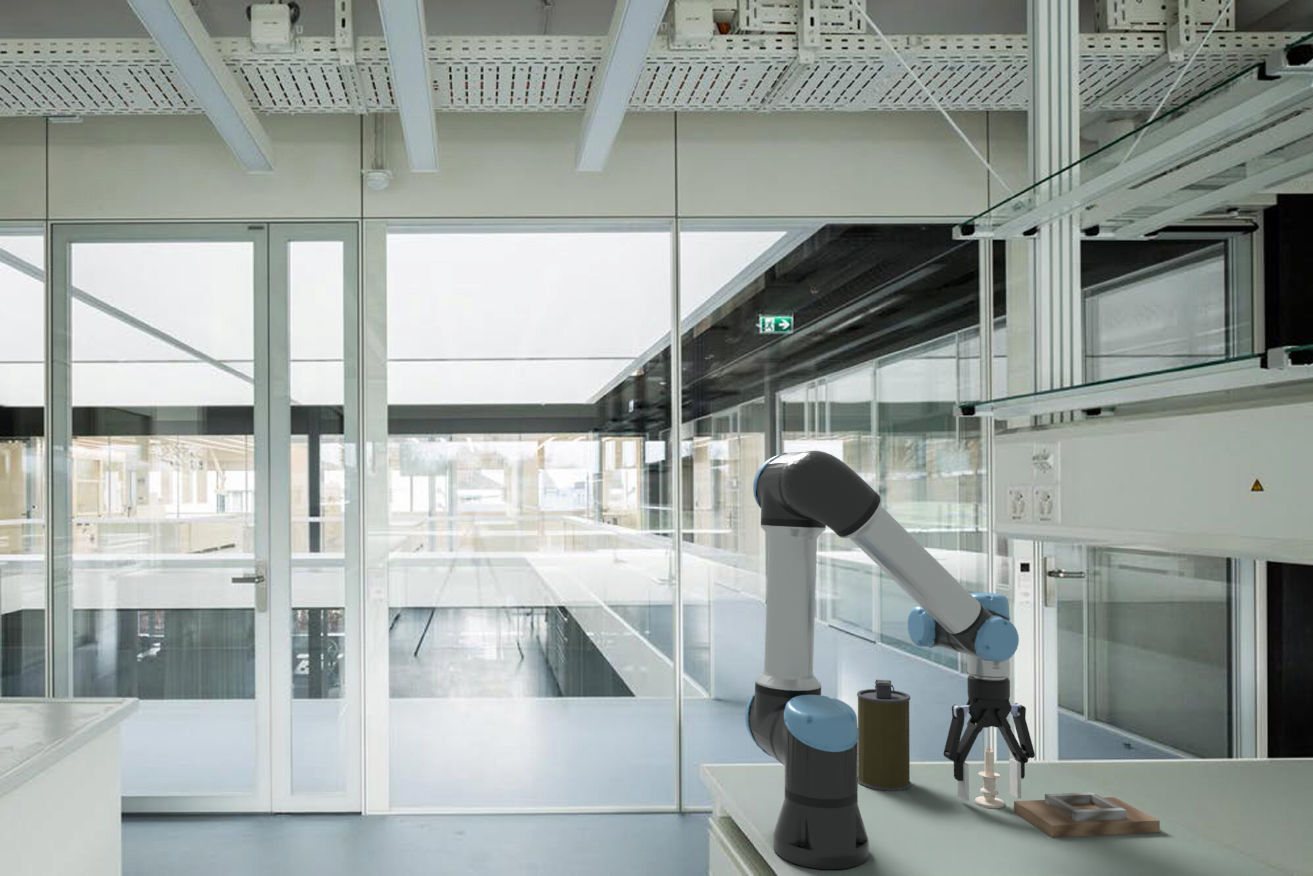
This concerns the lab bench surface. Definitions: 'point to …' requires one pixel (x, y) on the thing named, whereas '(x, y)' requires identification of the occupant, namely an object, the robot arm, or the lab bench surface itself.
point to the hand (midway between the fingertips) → (989, 797)
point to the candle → (989, 784)
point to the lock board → (1085, 815)
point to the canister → (883, 738)
